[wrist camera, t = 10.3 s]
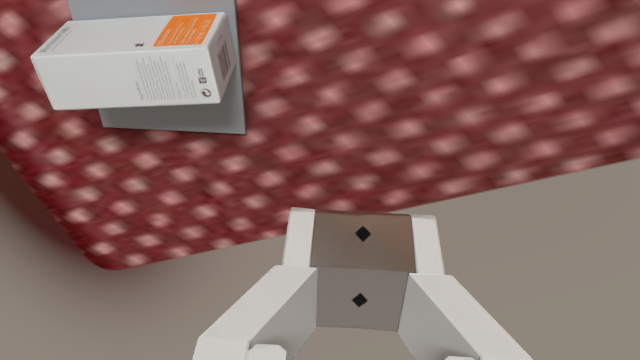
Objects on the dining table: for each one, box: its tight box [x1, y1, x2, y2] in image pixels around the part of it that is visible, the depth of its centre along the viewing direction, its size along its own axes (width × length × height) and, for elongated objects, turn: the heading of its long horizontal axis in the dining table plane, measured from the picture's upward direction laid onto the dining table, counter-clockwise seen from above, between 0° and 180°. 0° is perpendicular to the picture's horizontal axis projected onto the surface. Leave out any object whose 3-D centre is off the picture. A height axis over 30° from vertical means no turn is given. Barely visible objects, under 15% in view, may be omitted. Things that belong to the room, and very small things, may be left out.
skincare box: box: [31, 12, 236, 110], centre depth 38 cm, size 6×4×12 cm
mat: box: [67, 0, 246, 134], centre depth 41 cm, size 12×14×1 cm
